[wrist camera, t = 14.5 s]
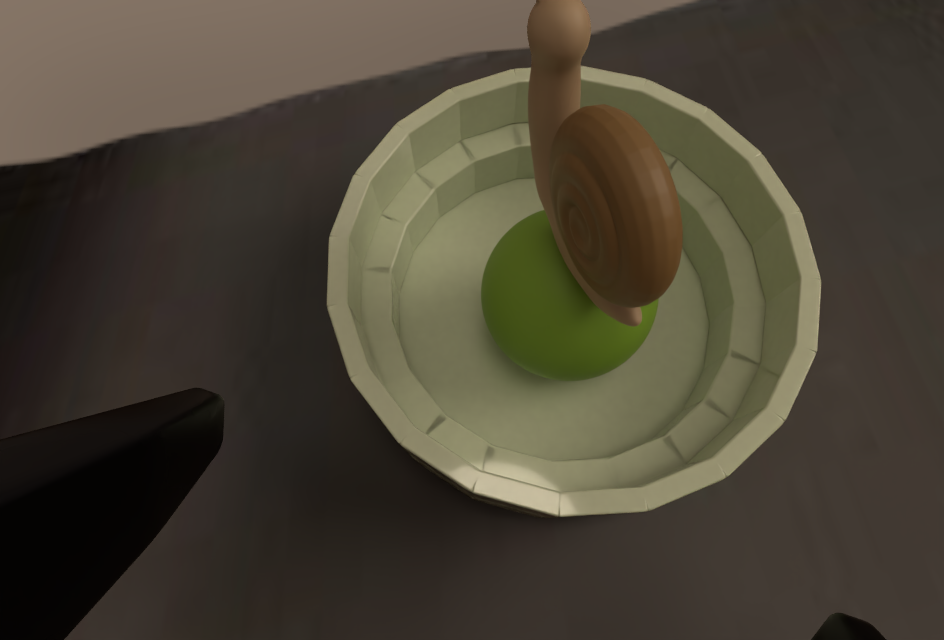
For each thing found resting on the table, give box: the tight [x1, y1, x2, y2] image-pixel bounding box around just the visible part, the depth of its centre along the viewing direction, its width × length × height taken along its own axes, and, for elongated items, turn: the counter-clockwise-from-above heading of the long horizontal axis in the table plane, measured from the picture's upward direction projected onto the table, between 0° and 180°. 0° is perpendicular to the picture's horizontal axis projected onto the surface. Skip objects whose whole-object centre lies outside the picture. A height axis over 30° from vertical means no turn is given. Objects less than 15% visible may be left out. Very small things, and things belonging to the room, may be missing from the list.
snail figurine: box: [481, 0, 683, 381], centre depth 15 cm, size 5×6×12 cm
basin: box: [327, 66, 821, 518], centre depth 19 cm, size 14×14×5 cm
